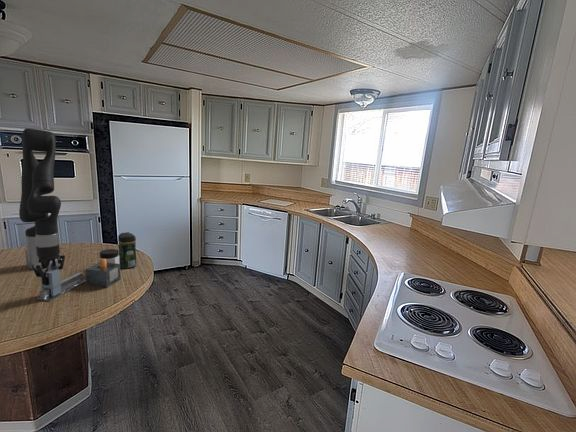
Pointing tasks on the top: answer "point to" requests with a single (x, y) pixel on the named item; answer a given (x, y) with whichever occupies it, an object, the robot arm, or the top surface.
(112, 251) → the jar
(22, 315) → the top surface
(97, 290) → the top surface
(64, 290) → the rail
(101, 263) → the orange peg
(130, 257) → the coffee jar
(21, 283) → the top surface
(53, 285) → the block
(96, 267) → the block with square hole
